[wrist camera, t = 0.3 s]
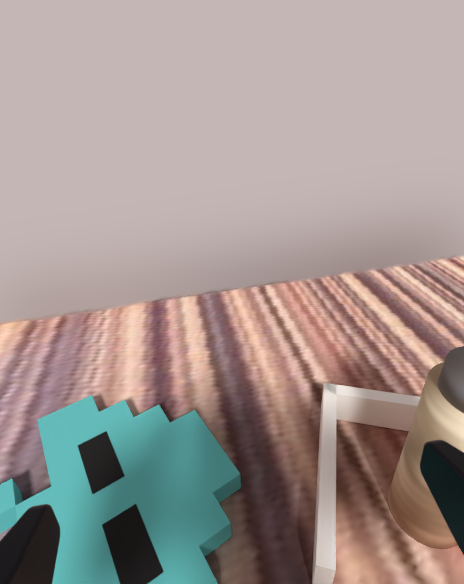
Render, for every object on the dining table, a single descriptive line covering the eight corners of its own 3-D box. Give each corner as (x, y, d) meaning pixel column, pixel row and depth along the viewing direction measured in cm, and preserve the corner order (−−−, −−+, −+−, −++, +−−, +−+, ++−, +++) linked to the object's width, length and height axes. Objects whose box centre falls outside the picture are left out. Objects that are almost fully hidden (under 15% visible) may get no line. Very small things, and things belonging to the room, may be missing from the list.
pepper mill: (483, 537, 22) (579, 398, 15) (417, 558, 21) (487, 421, 14) (432, 468, 25) (490, 333, 19) (374, 484, 25) (414, 349, 18)
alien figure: (-143, 1007, 12) (306, 586, 20) (-189, 1025, 10) (308, 570, 19) (-82, 497, 26) (165, 380, 35) (-99, 480, 25) (162, 363, 34)
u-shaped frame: (613, 673, 17) (649, 654, 15) (311, 588, 20) (315, 565, 18) (506, 437, 27) (521, 411, 26) (320, 407, 31) (323, 382, 29)
